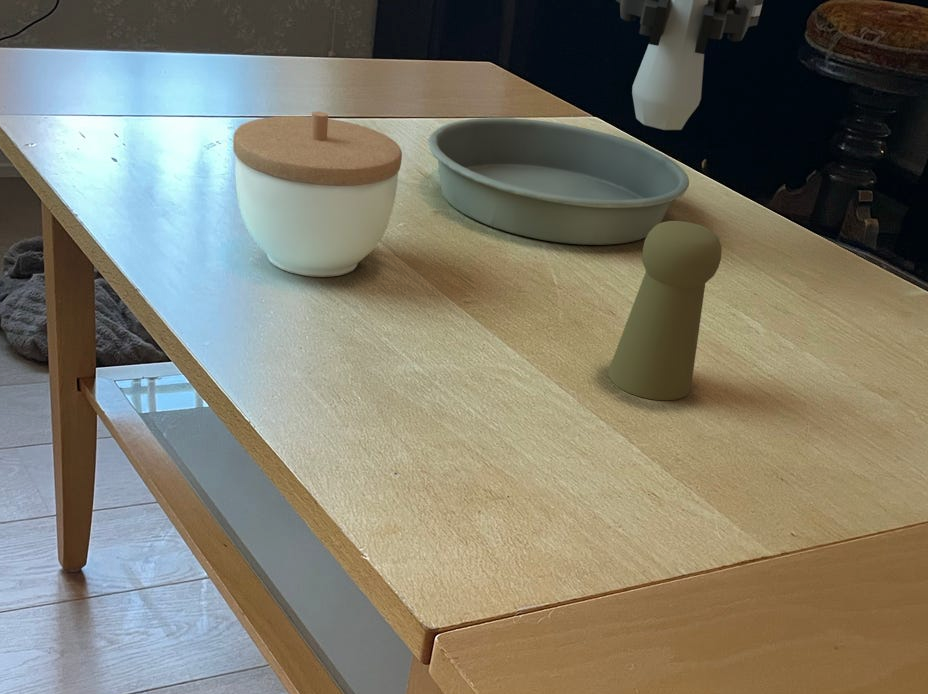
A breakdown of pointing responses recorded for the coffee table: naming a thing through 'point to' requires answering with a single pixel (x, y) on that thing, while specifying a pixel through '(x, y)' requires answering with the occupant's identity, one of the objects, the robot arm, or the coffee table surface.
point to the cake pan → (554, 180)
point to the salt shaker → (671, 70)
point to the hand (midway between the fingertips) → (680, 30)
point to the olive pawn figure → (666, 312)
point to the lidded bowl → (315, 190)
